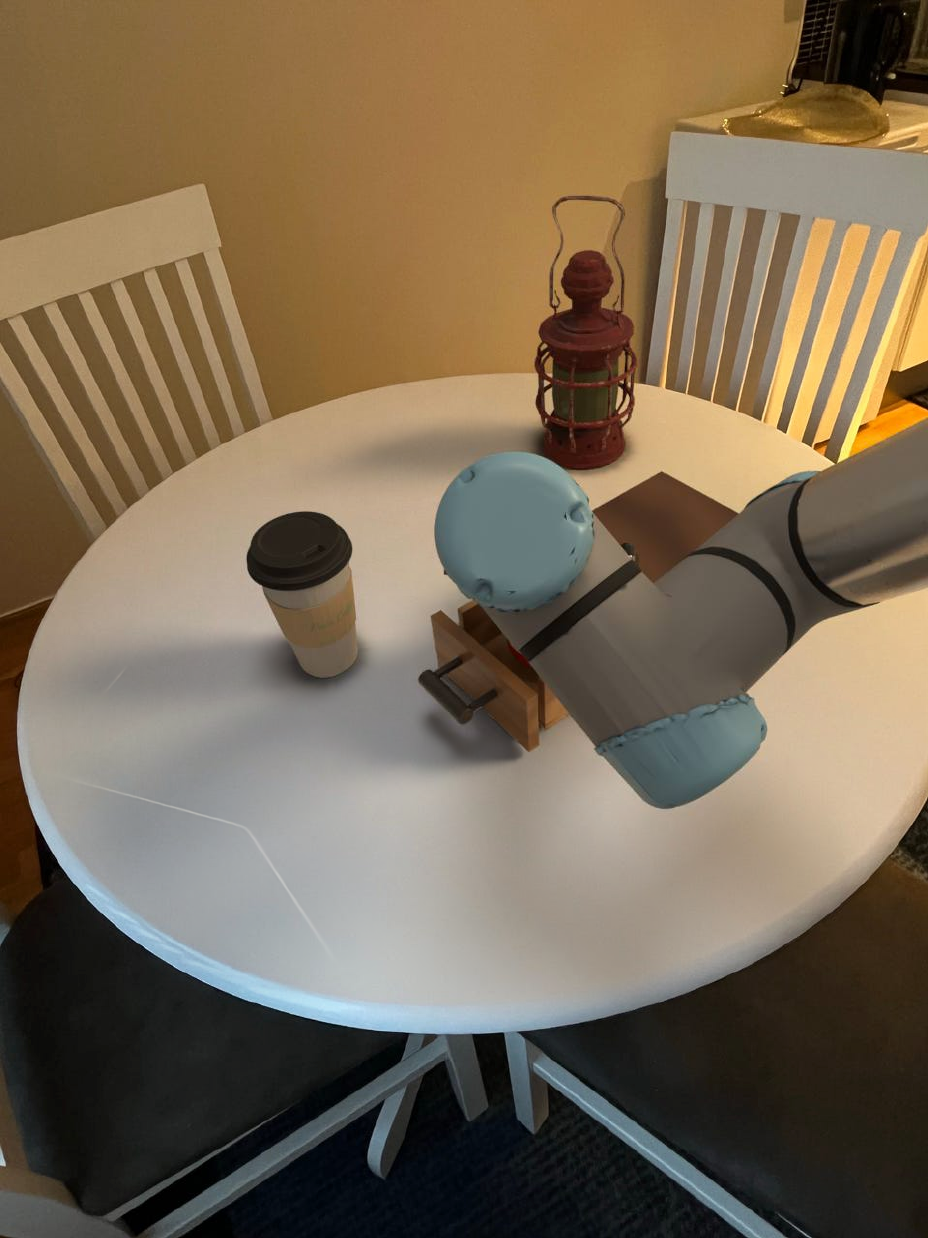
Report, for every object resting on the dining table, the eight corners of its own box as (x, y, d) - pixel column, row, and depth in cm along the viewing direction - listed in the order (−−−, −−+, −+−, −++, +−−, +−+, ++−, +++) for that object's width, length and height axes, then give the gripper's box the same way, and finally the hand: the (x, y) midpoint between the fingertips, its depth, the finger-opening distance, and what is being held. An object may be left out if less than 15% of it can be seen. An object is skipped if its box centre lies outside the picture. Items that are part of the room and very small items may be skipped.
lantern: (642, 427, 108) (660, 178, 88) (619, 480, 100) (633, 219, 80) (552, 416, 112) (549, 174, 91) (523, 465, 104) (513, 213, 84)
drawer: (489, 780, 70) (484, 729, 65) (400, 689, 78) (390, 638, 73) (655, 664, 77) (661, 612, 73) (559, 593, 86) (558, 541, 81)
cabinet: (646, 684, 77) (653, 617, 71) (542, 604, 86) (540, 539, 80) (763, 602, 84) (778, 534, 78) (655, 535, 92) (661, 470, 86)
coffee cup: (351, 699, 79) (319, 581, 68) (264, 681, 81) (220, 564, 71) (389, 631, 85) (365, 513, 75) (307, 616, 88) (273, 499, 77)
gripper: (372, 606, 55) (436, 610, 77) (695, 617, 51) (663, 619, 74) (377, 491, 55) (439, 529, 77) (699, 496, 51) (666, 534, 74)
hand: (549, 573), depth 75 cm, fingers closed on soda can, 8 cm apart
